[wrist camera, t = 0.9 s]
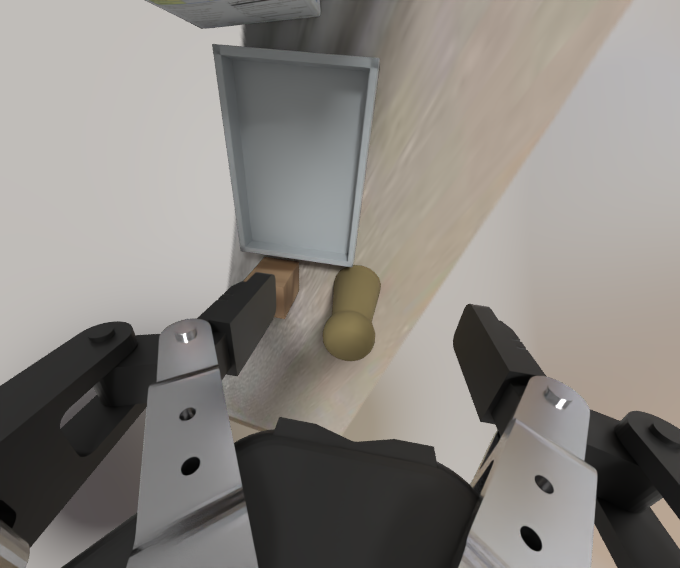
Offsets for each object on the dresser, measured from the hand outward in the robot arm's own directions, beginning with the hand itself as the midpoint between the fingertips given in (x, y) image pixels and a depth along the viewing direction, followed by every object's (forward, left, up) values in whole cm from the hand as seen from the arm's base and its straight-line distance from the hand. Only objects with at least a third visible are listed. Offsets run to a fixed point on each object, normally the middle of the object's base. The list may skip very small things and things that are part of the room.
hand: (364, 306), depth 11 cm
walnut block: (+11, -11, -19) cm, 25 cm away
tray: (-2, -8, -19) cm, 21 cm away
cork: (+11, -1, -19) cm, 23 cm away
